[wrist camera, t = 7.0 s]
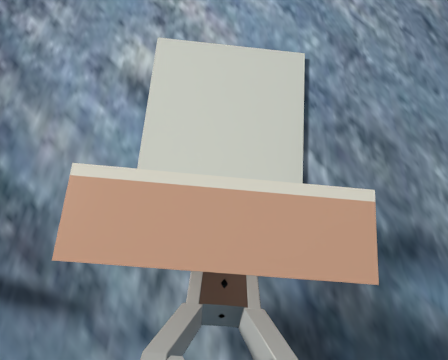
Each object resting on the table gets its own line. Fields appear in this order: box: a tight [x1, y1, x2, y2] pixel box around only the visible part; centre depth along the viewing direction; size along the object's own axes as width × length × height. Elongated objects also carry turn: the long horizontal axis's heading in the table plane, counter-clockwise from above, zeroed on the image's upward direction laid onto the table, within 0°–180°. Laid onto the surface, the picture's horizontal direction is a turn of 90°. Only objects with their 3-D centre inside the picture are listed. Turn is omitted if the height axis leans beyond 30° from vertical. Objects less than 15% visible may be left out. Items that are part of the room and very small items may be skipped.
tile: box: [52, 163, 379, 285], centre depth 13 cm, size 3×10×12 cm, turn 86°
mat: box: [137, 38, 305, 184], centre depth 20 cm, size 14×14×1 cm
